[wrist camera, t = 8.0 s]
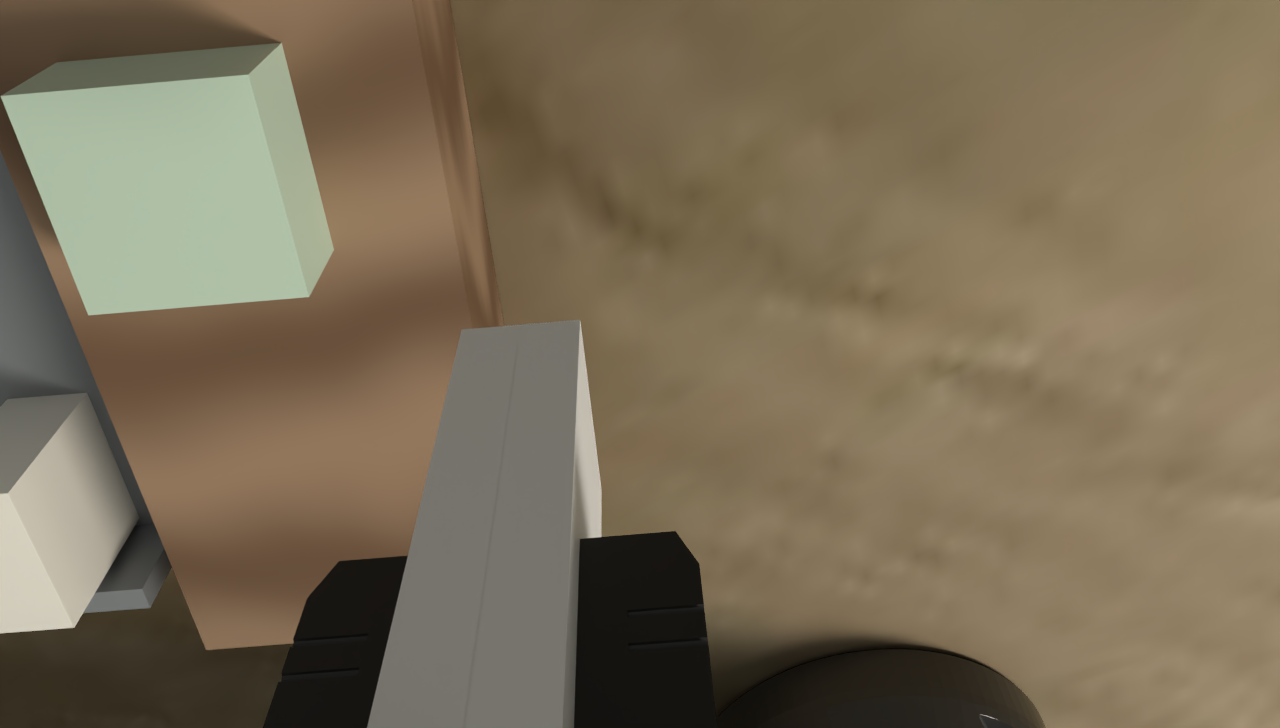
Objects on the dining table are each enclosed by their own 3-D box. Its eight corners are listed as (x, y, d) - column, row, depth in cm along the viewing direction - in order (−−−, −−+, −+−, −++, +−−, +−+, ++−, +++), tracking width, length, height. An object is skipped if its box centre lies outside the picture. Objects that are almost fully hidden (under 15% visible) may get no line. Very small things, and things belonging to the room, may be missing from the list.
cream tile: (74, 627, 31) (-11, 634, 31) (139, 518, 35) (65, 523, 35) (7, 492, 28) (-84, 500, 28) (87, 392, 32) (7, 399, 32)
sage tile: (334, 249, 26) (309, 296, 23) (131, 266, 26) (88, 315, 23) (281, 42, 23) (248, 74, 21) (56, 62, 23) (0, 96, 21)
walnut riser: (536, 520, 36) (527, 625, 32) (252, 543, 37) (206, 650, 32) (433, -100, 26) (399, -67, 22) (38, -64, 26) (-72, -25, 22)
